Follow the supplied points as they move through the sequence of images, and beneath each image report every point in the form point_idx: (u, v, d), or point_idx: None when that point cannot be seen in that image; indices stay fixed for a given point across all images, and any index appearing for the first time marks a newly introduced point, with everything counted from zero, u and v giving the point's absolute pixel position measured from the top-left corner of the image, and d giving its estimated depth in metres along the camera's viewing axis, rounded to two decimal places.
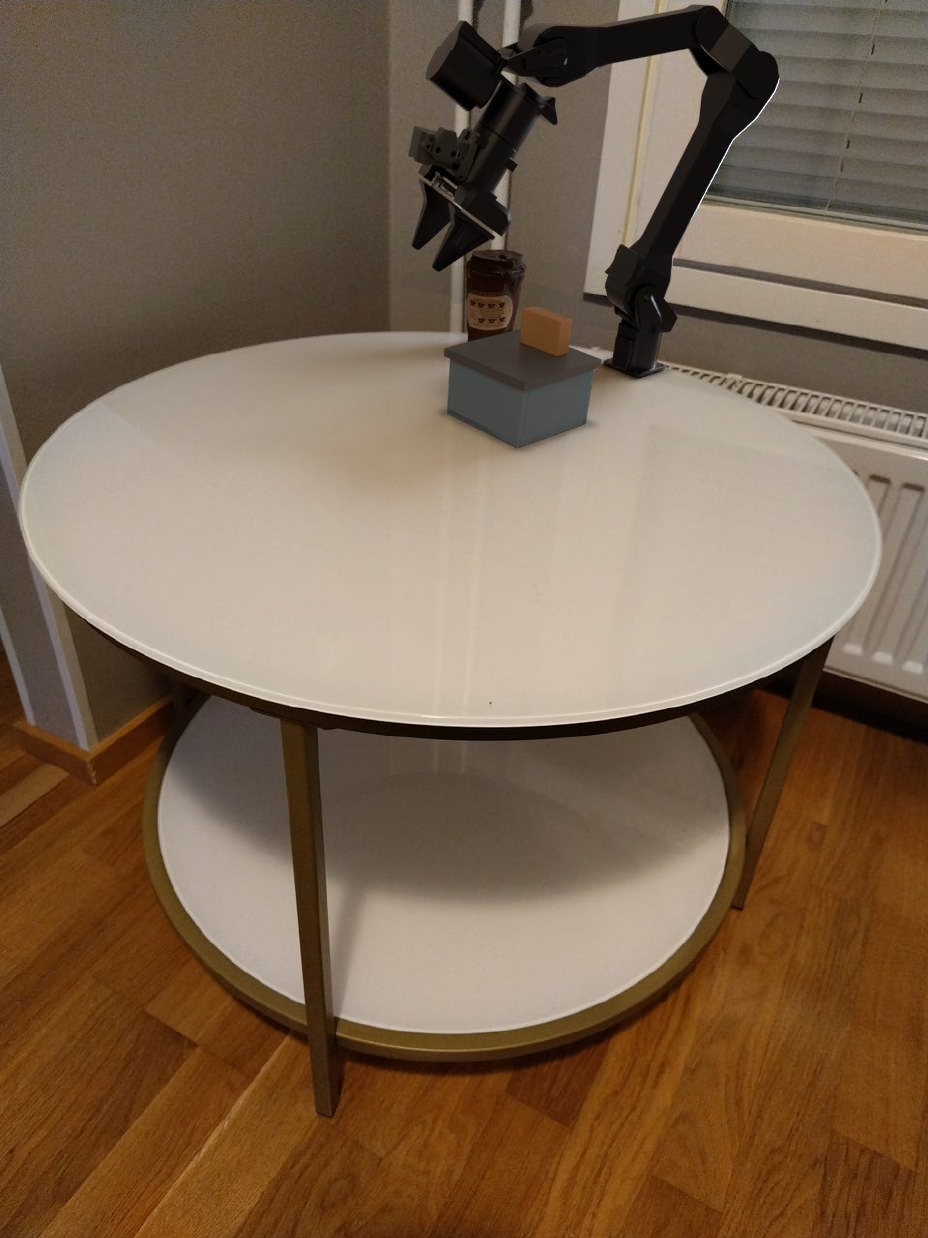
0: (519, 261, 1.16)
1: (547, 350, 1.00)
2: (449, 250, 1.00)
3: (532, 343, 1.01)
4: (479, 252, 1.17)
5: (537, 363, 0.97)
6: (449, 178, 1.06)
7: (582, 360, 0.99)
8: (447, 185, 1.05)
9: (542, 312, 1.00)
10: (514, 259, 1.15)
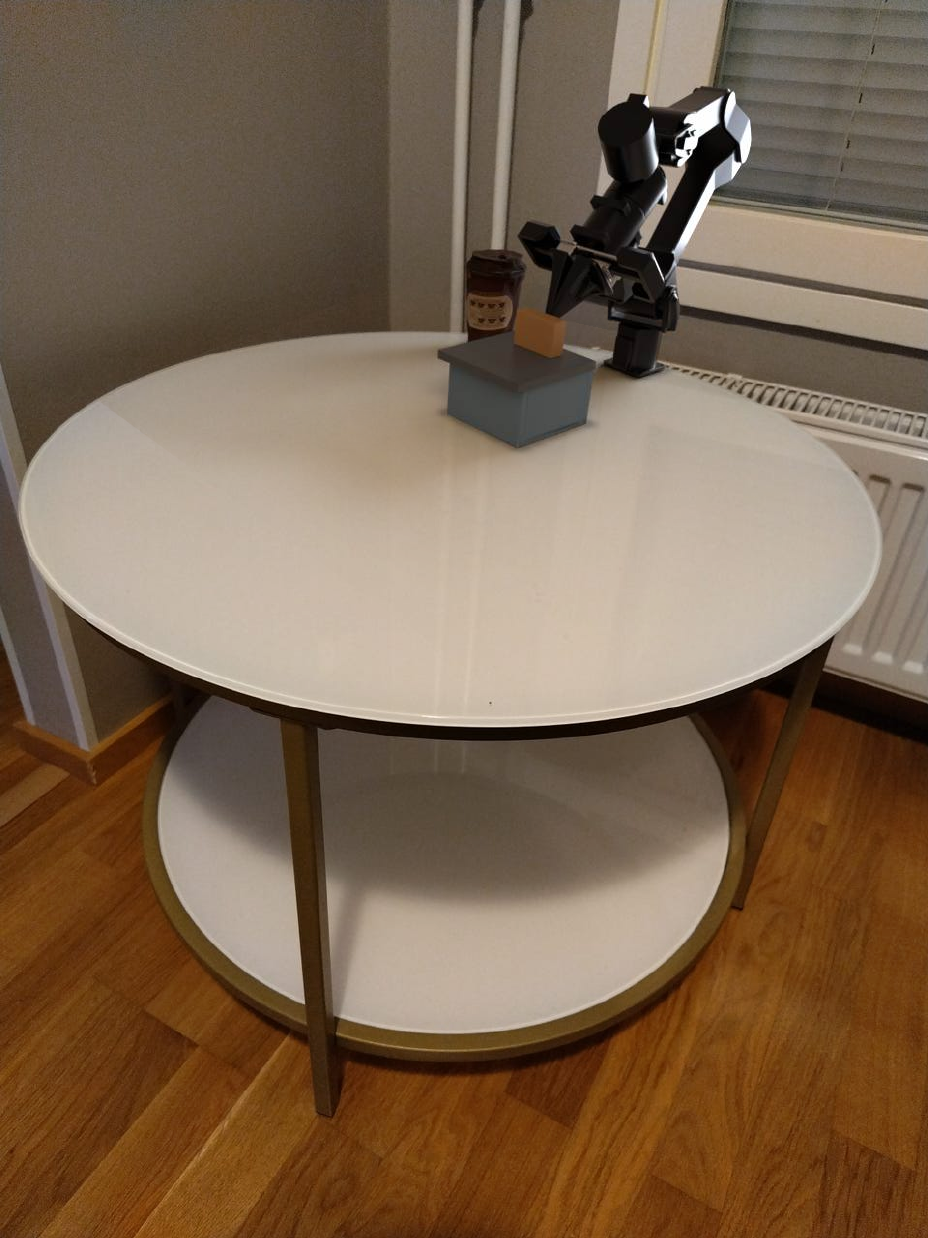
0: (519, 261, 1.16)
1: (541, 352, 0.99)
2: None
3: (526, 345, 1.01)
4: (479, 252, 1.17)
5: (531, 365, 0.97)
6: None
7: (576, 362, 0.98)
8: None
9: (536, 313, 0.99)
10: (514, 259, 1.15)
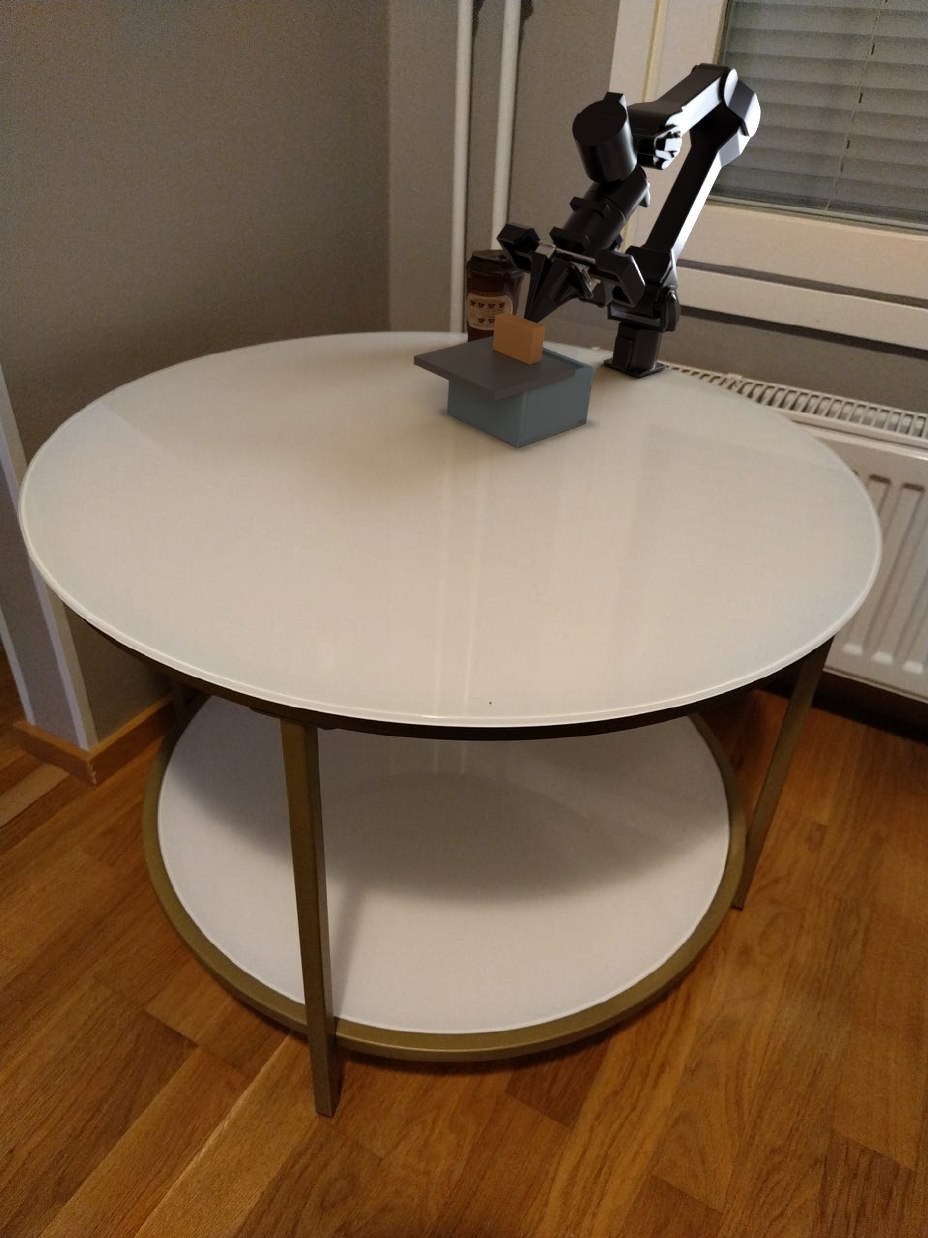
0: None
1: (520, 358, 0.97)
2: None
3: (505, 351, 0.99)
4: (479, 252, 1.17)
5: (509, 372, 0.94)
6: None
7: (556, 368, 0.96)
8: None
9: (515, 319, 0.97)
10: None
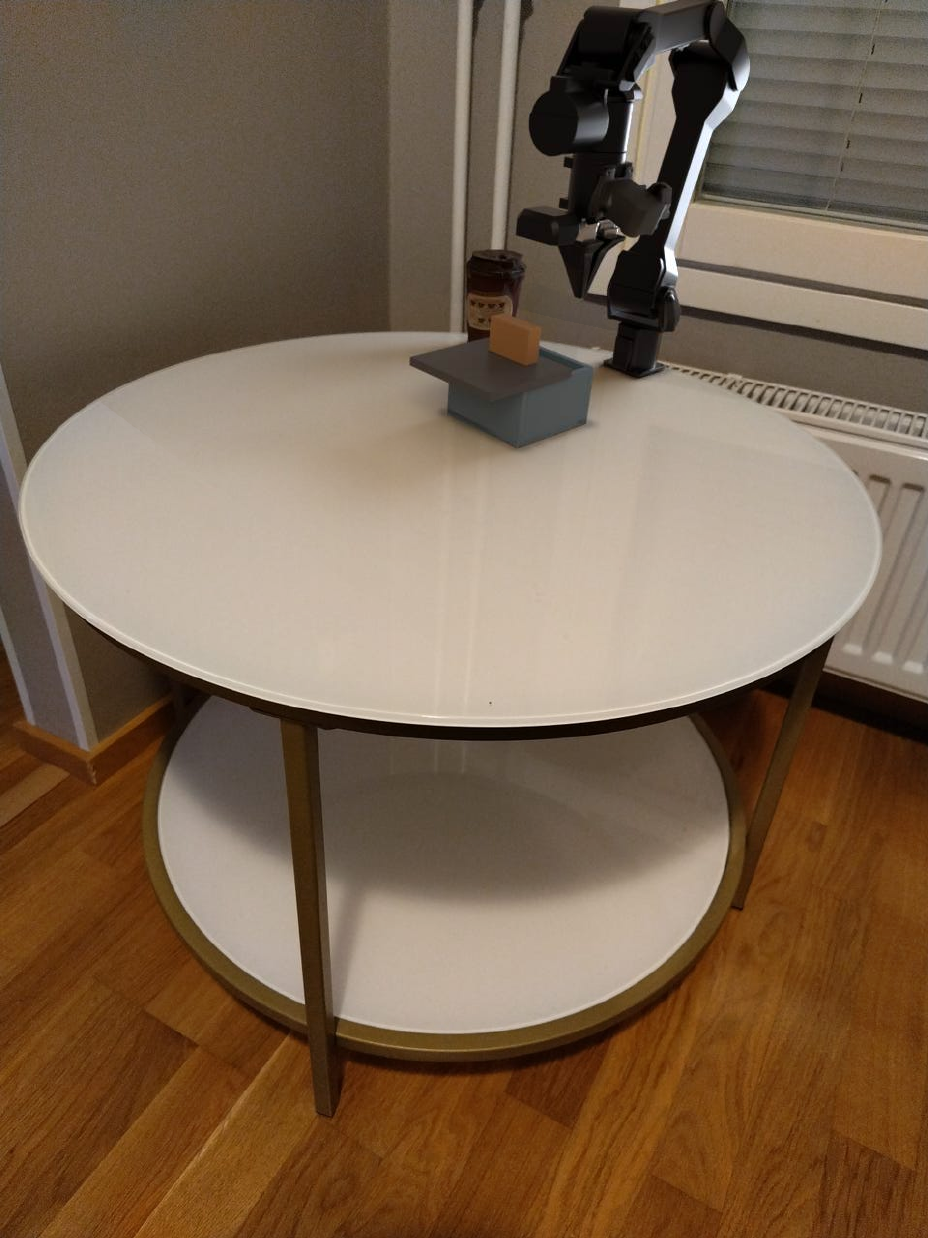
0: (519, 261, 1.16)
1: (516, 359, 0.97)
2: None
3: (501, 352, 0.98)
4: (479, 252, 1.17)
5: (504, 373, 0.94)
6: (589, 217, 0.96)
7: (552, 370, 0.96)
8: None
9: (511, 320, 0.96)
10: (514, 259, 1.15)
